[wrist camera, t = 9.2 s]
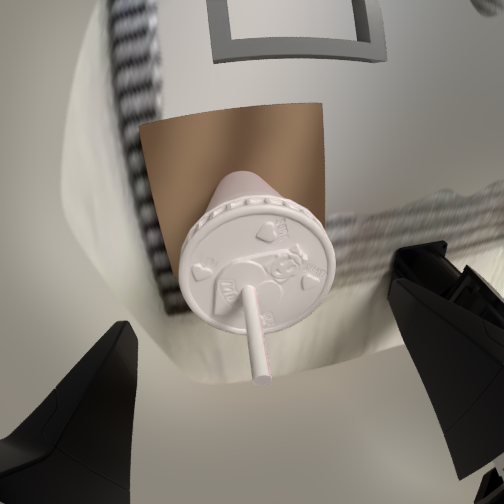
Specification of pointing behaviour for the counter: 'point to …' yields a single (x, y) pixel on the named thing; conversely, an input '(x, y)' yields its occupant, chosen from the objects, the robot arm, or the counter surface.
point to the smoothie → (255, 264)
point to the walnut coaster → (232, 161)
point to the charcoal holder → (300, 39)
